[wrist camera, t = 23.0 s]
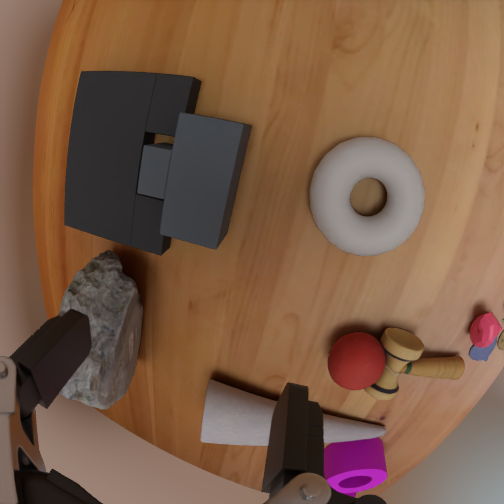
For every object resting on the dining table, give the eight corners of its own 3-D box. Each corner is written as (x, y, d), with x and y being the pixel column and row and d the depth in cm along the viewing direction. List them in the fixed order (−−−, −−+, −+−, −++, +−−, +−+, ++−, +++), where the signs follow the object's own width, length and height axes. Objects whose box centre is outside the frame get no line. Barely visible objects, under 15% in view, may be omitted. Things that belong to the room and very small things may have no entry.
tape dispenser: (335, 434, 37) (336, 468, 31) (392, 435, 36) (398, 467, 31) (305, 475, 43) (303, 503, 38) (354, 477, 43) (355, 503, 37)
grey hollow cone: (419, 419, 28) (202, 415, 27) (388, 455, 32) (199, 452, 31) (400, 378, 36) (211, 365, 34) (376, 416, 39) (206, 407, 38)
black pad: (93, 73, 23) (80, 71, 21) (201, 81, 23) (193, 76, 21) (76, 219, 29) (64, 225, 27) (170, 247, 29) (161, 256, 27)
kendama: (465, 325, 29) (341, 309, 28) (485, 364, 24) (354, 363, 22) (432, 363, 33) (314, 356, 32) (446, 401, 28) (319, 405, 27)
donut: (335, 116, 23) (289, 220, 26) (342, 113, 19) (288, 232, 23) (432, 170, 23) (384, 264, 27) (449, 175, 20) (395, 280, 23)
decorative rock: (113, 235, 30) (13, 308, 16) (168, 257, 30) (83, 352, 16) (106, 344, 36) (47, 422, 22) (149, 364, 36) (99, 452, 22)
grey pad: (170, 110, 24) (150, 108, 20) (252, 125, 24) (244, 123, 20) (152, 214, 28) (133, 226, 24) (226, 233, 28) (216, 250, 24)
